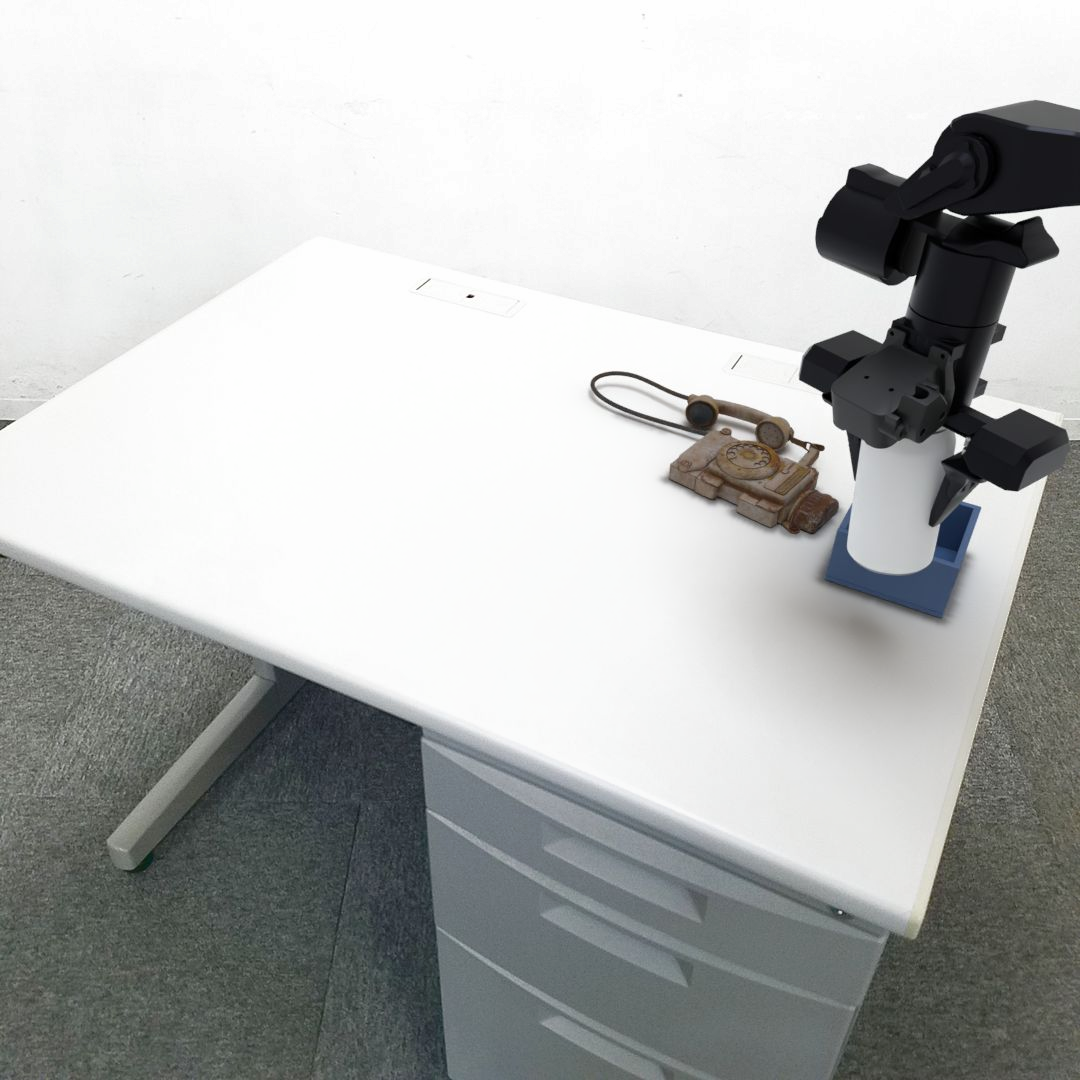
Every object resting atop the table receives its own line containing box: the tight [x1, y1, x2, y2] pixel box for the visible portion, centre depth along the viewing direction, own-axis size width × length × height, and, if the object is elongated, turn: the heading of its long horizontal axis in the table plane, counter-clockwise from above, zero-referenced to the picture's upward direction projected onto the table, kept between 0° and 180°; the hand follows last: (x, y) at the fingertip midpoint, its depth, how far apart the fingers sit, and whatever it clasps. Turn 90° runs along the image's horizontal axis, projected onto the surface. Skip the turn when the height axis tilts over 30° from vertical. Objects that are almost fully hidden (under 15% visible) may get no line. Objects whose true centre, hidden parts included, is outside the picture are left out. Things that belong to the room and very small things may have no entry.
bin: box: [824, 500, 982, 619], centre depth 86 cm, size 10×10×6 cm
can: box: [847, 426, 957, 576], centre depth 72 cm, size 6×6×12 cm
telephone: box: [589, 370, 840, 534], centre depth 102 cm, size 15×33×4 cm, turn 49°
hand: (895, 502), depth 73 cm, fingers closed on can, 6 cm apart
